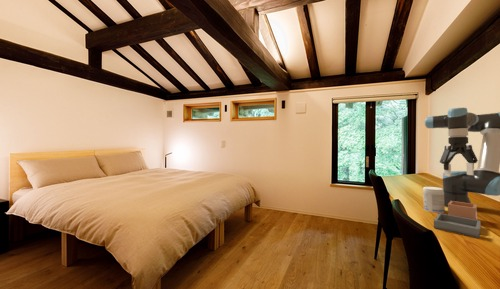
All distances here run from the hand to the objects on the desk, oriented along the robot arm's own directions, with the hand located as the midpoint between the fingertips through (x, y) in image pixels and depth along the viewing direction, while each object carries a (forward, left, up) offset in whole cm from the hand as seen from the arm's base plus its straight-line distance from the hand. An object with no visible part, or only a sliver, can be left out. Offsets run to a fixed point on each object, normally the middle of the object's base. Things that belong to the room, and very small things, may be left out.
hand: (459, 175), depth 109 cm
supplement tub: (0, -14, -25) cm, 29 cm away
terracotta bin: (-1, +1, -25) cm, 25 cm away
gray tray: (+13, +9, -25) cm, 29 cm away
